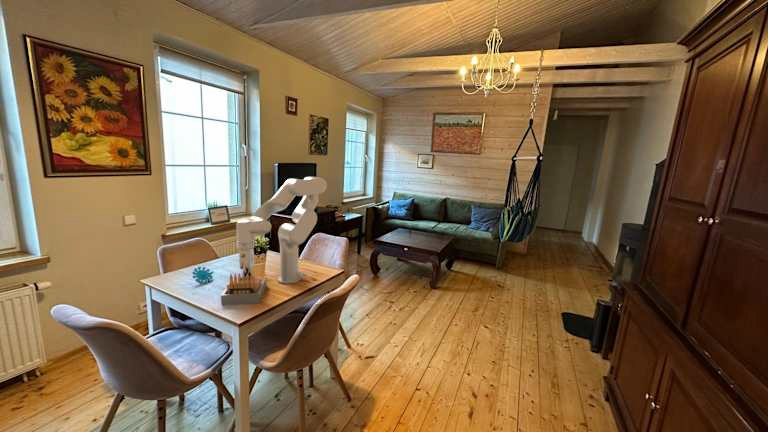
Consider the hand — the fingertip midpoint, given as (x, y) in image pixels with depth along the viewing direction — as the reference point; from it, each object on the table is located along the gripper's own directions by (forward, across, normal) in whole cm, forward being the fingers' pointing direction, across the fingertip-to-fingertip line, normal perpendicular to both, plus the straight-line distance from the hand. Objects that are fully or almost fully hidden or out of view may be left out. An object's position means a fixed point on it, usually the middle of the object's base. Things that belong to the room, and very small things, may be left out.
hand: (247, 280), depth 153 cm
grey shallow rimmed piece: (+5, -5, 0) cm, 7 cm away
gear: (+5, +12, +25) cm, 28 cm away
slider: (+3, -6, 0) cm, 7 cm away
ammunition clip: (+4, -12, 0) cm, 13 cm away
